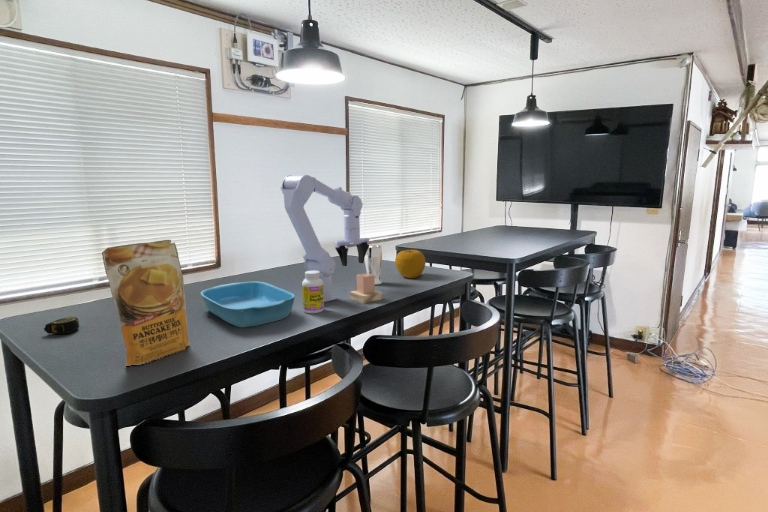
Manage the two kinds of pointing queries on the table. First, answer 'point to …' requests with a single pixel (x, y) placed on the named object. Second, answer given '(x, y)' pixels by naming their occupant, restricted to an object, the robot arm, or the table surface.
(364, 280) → the clay block
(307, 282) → the supplement bottle
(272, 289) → the casserole dish
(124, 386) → the table surface
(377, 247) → the beer glass
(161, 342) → the pancake mix bag
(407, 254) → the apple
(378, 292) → the oak base
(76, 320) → the tape measure
